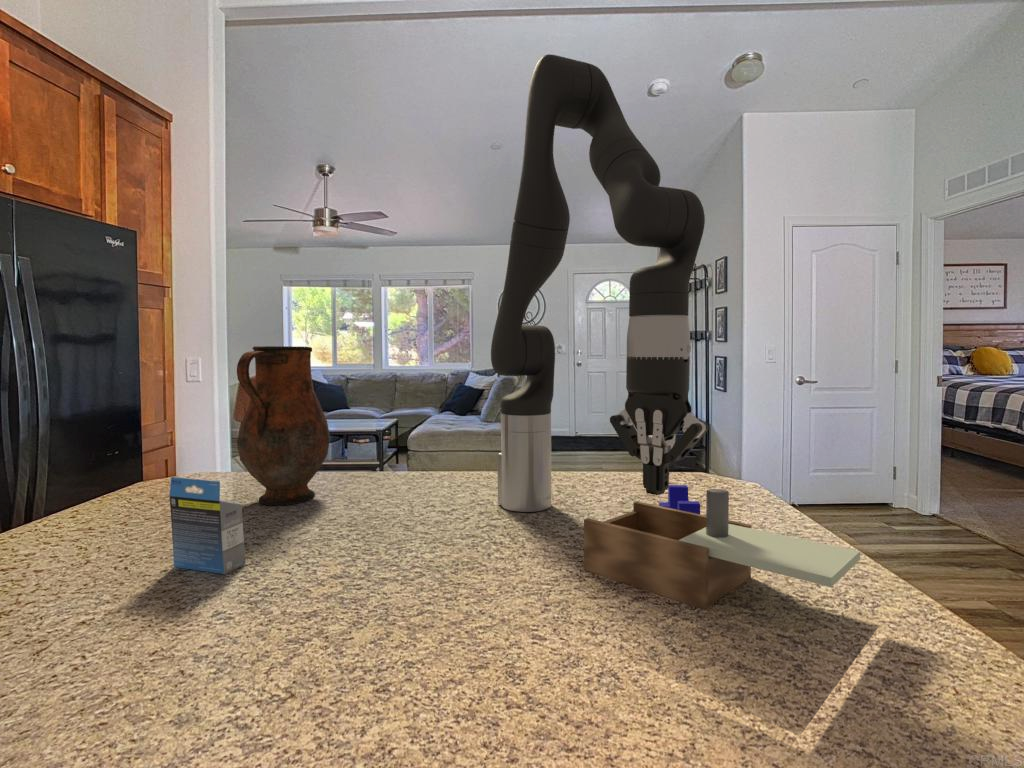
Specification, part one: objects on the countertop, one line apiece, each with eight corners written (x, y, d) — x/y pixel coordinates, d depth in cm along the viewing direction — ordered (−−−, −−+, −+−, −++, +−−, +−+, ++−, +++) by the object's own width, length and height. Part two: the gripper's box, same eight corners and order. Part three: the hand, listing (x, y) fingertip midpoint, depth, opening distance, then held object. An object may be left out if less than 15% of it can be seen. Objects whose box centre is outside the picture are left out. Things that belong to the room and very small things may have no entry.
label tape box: (246, 565, 76) (243, 474, 75) (222, 576, 72) (219, 481, 71) (196, 558, 79) (193, 470, 78) (170, 568, 75) (166, 476, 74)
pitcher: (346, 489, 118) (343, 346, 117) (288, 519, 97) (283, 344, 96) (274, 487, 121) (270, 347, 120) (203, 514, 100) (197, 345, 99)
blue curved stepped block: (658, 519, 96) (659, 484, 95) (686, 520, 95) (686, 485, 95) (668, 543, 84) (668, 503, 84) (700, 544, 83) (700, 504, 83)
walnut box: (584, 575, 71) (583, 519, 71) (636, 551, 80) (636, 501, 79) (704, 616, 60) (705, 549, 59) (750, 583, 68) (751, 524, 68)
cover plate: (678, 548, 63) (678, 495, 63) (717, 528, 70) (718, 481, 70) (831, 587, 52) (832, 524, 52) (860, 559, 59) (861, 503, 59)
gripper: (595, 353, 71) (594, 489, 72) (693, 354, 62) (690, 510, 63) (628, 353, 77) (627, 479, 78) (723, 354, 67) (720, 497, 68)
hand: (655, 493), depth 70 cm, fingers closed
